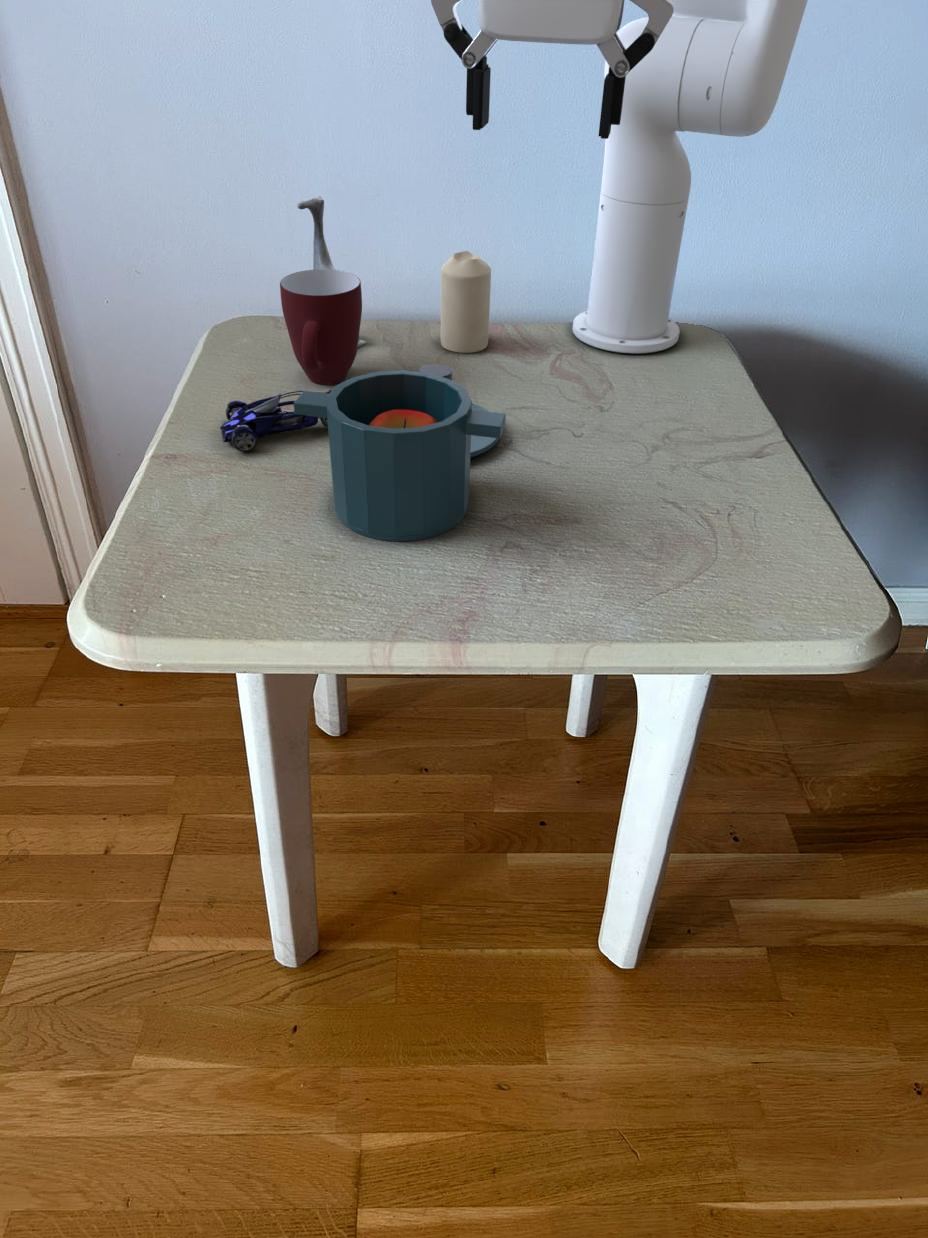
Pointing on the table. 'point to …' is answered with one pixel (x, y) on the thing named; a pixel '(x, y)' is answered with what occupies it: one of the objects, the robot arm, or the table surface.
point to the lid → (477, 442)
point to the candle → (465, 303)
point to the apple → (402, 419)
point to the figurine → (319, 237)
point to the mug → (323, 321)
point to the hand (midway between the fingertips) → (542, 130)
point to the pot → (400, 452)
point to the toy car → (262, 421)
